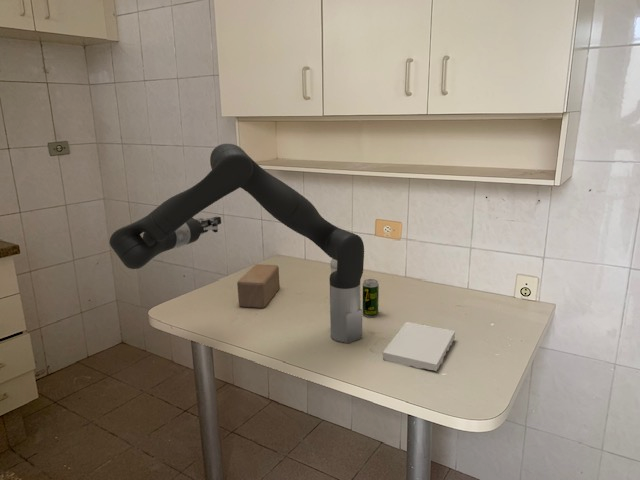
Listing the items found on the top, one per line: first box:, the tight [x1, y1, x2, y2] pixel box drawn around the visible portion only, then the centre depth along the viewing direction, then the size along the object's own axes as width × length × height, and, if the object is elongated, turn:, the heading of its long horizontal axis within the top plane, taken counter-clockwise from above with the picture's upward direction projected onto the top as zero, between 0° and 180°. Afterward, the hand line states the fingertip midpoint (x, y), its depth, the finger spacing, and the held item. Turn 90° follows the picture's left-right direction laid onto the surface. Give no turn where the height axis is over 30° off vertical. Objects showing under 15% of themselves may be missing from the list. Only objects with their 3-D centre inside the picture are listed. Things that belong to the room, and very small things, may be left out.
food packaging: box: [382, 321, 456, 372], centre depth 134 cm, size 15×3×20 cm
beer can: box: [362, 278, 380, 319], centre depth 156 cm, size 5×5×12 cm
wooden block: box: [236, 263, 281, 309], centre depth 173 cm, size 10×10×20 cm
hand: (219, 220), depth 142 cm, fingers closed
